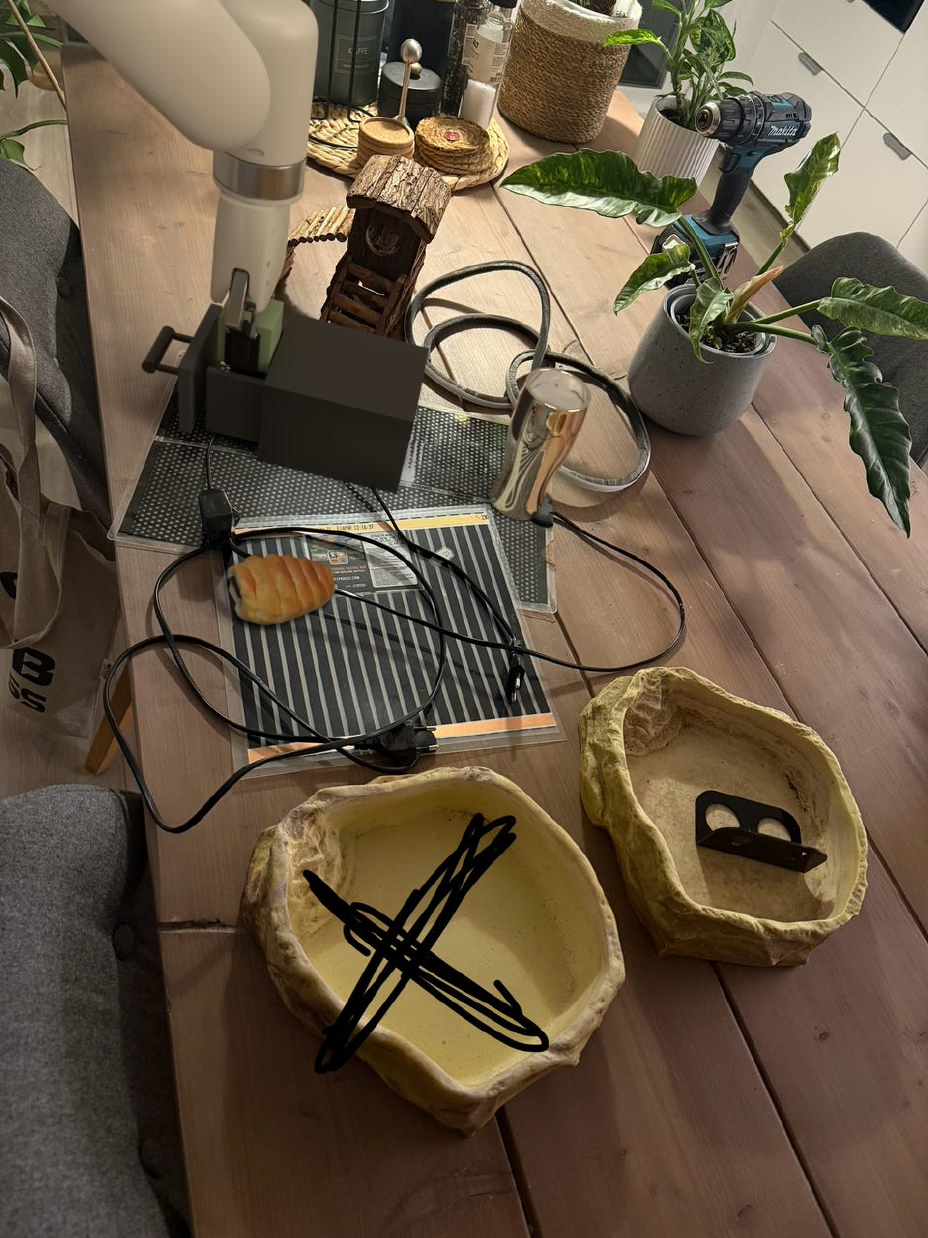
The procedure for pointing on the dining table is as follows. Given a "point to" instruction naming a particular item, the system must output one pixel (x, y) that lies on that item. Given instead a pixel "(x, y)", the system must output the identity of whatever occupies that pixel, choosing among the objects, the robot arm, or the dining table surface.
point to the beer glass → (539, 440)
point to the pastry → (279, 587)
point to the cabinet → (341, 403)
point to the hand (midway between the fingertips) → (248, 349)
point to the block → (266, 328)
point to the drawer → (210, 382)
